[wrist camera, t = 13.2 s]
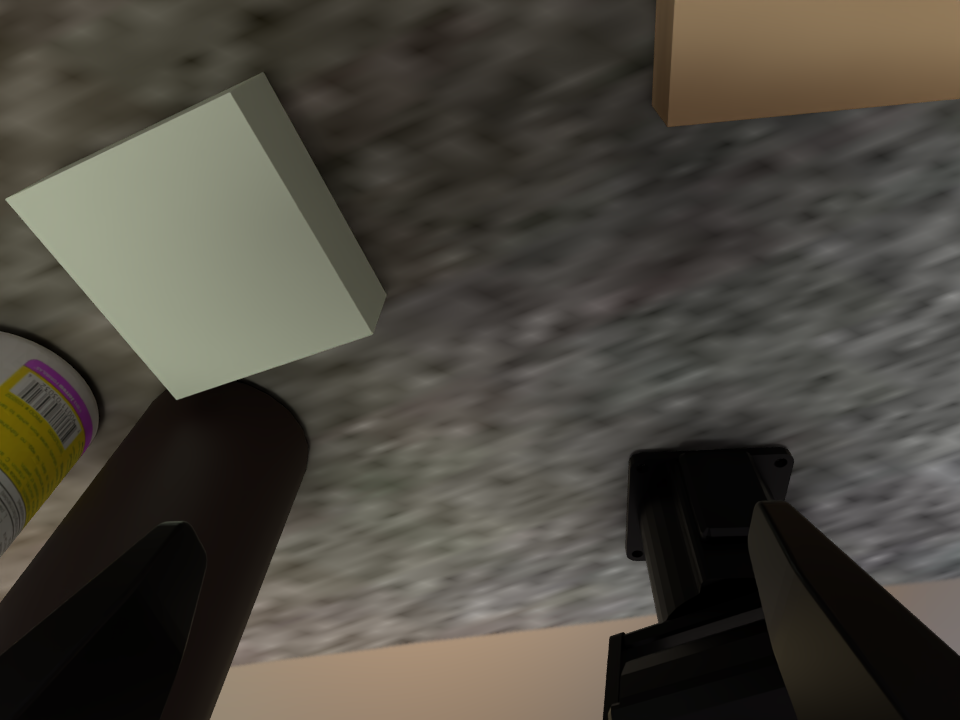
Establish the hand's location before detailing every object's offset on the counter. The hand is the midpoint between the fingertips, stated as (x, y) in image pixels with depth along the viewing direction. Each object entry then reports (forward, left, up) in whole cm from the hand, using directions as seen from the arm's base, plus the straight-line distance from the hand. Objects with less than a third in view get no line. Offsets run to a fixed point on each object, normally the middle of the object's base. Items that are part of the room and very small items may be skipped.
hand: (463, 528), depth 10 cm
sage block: (0, +9, -13) cm, 16 cm away
